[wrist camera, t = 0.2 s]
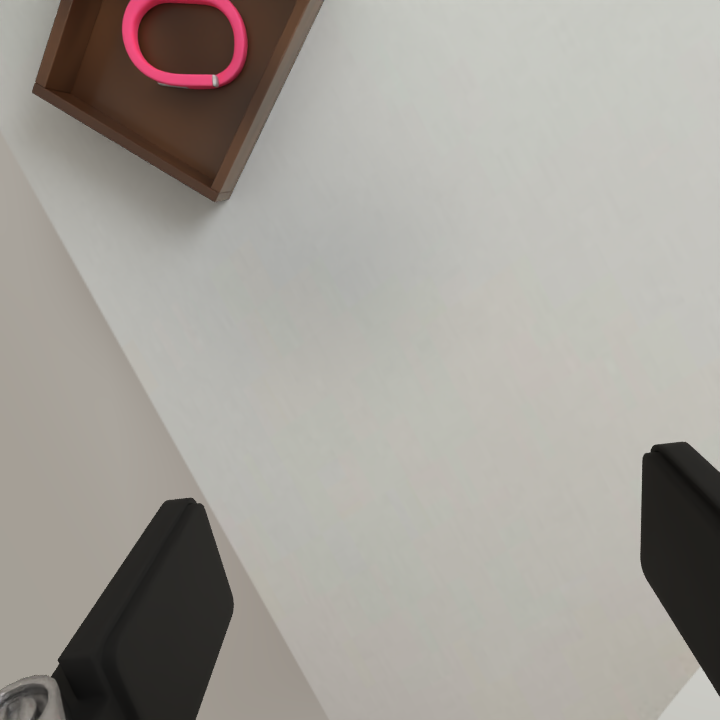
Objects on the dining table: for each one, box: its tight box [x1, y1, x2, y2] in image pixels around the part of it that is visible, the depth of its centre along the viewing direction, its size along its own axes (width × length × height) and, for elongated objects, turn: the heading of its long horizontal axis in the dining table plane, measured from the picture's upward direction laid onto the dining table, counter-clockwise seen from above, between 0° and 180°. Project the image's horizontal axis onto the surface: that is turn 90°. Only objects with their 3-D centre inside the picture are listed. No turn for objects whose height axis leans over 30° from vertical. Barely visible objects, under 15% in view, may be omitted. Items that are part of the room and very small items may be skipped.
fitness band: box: [122, 0, 248, 89], centre depth 34 cm, size 8×6×2 cm
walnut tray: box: [32, 0, 324, 202], centre depth 34 cm, size 16×13×3 cm
